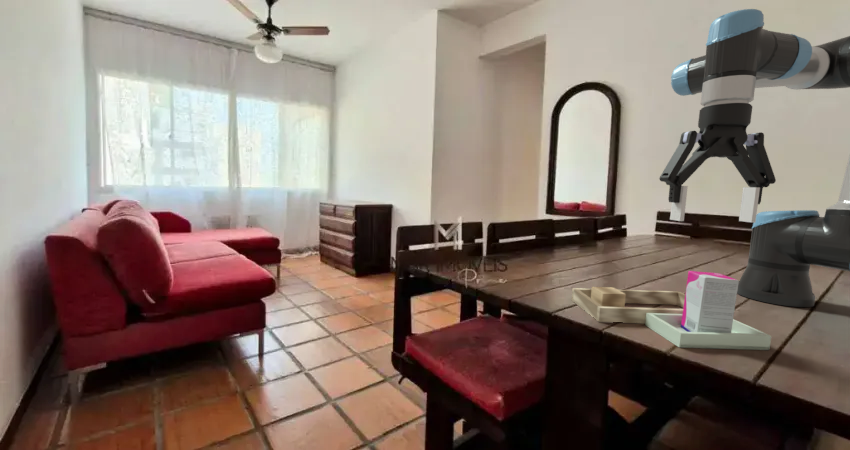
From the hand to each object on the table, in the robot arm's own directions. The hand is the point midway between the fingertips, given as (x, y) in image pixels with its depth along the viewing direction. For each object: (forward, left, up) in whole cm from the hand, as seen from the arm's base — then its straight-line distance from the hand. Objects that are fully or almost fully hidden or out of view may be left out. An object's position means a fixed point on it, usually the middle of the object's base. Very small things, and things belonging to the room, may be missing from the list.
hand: (711, 221), depth 70 cm
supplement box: (+1, +3, -21) cm, 21 cm away
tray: (+1, +3, -22) cm, 22 cm away
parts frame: (+5, -10, -22) cm, 25 cm away
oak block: (+13, -10, -22) cm, 27 cm away
